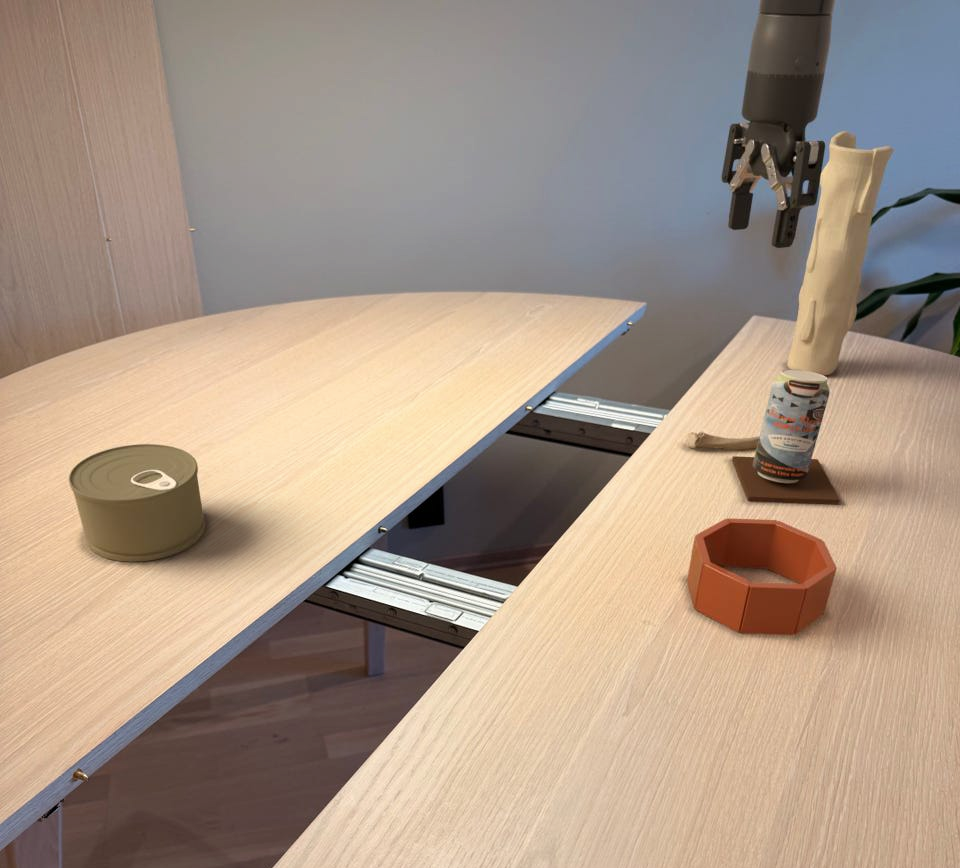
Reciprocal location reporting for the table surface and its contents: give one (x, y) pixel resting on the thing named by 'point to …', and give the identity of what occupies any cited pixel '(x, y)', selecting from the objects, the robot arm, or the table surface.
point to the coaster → (785, 485)
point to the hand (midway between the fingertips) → (758, 237)
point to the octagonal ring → (754, 601)
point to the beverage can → (791, 425)
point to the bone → (720, 441)
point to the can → (138, 501)
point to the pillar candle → (836, 253)
